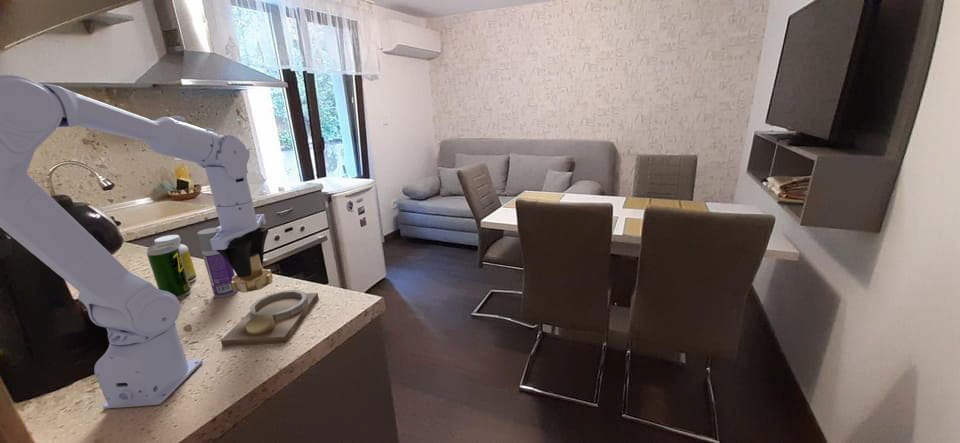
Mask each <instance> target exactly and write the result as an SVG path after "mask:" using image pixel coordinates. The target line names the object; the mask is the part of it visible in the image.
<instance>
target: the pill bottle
mask: <svg viewBox="0 0 960 443" xmlns="http://www.w3.org/2000/svg"><path fill="white" fill-rule="evenodd" d="M181 240H182V239H181V237H180V235H179V234H168V235H163V236H159V237H158V238H157V237H156V239H154V241H153V242H154V245H157V244H161V243H168V242H174V243H176V246H177V247H178V249H179V252H180V255H181V258H182V262H183V265H184V268H185V272H186V275H187V278H188V281H189V284H190V283H193V282H194V281H195V280H196V279H197V273H196V271H195V270H196V269H195V267H194V266H195V265H194V264H193V260H192V256H191V254H190V250H189V247H188V246H187V245H185V244H183V243H182V244H181Z"/></svg>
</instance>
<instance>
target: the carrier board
mask: <svg viewBox="0 0 960 443" xmlns="http://www.w3.org/2000/svg"><path fill="white" fill-rule="evenodd" d="M318 298H319V294H318V292H305V291H303V290H302V291H301V290H298V289H285V290H281V291H277V292H276V291H275V292H273V293H270V294H267V295H265V296H263V297H261V298H258V299H257V300H256V301H254V302H253V303H252V304H251V305H250V307H249V310H250V311H249V312H248V313H246V315H245V316H243V318H241V320H239V322H238V323H237V324H236V325H235V326H234V327H233V328H232V329H230V331H229V332H228V333H227V334H226V335H225V336H224V337H223V338H222V339H221V340H220V343H221V346H222V347H230V346H231V347H233V346H247V345H248V346H250V345H263V344H264V345H266V344H278V343H279V344H280V343H282V344H283V343H287V342H288V340H289V339H290V338H291V336H292V334H294V332H295V330H296V329H297V328H298V326H299V325H300V324H301V322H302V321H303V320H304V318H305V317H306V315H307V314H308V313H309V311H310V310H311V309H312V307H313V306H314V305H315V303H316V302H317V300H318Z"/></svg>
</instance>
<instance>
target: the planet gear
mask: <svg viewBox="0 0 960 443" xmlns="http://www.w3.org/2000/svg"><path fill="white" fill-rule="evenodd" d="M250 263H251V275H250V276H249V277H238V276H237V274H235V276H233V277H232V281H231V285H232V289H233V291H237V292H238V293H239V292H240V293H241V294H242V293H249V292H254V291H260V290H262V289H264V288H266V287H267V286H268V285H271V284H272V283H273V282H274V281H273V274H272V270H271V269H267V268H263V267H262V266H263V265H261V261H260V256H259V253H257V252H250Z"/></svg>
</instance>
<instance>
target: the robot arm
mask: <svg viewBox="0 0 960 443" xmlns="http://www.w3.org/2000/svg"><path fill="white" fill-rule="evenodd" d="M72 127H80V128H84V129H85V128H86V129H89V130H94V131H98V132H103V133H107V134H111V135H116V136H119V137H123V138H129V139H132V140H137V141H141V142H145V143H146V144H147V145H148V146H149V148H150V149H151V151H153V152H154V153H155V154H159V155H162V156H167V157H171V158H174V159H179V160H183V161H186V162H187V161H188V162H191V163H196V164H197V165H198V166H199V167H201V168H203V169H204V170H205V172H206V178H207V180H208V184H209V188H210V192H211V194H212V195H211V196H212V199H213V202H214V203H213V204H214V206H215V210H216V214H217V218H218V221H219V222H218V223H219V224H220V225H219V226H216V227H214V228H215V230H216V232H218V233H217V234H216V235H215V237H213V238H212V239H210V242H211V245H212V249H213V250H216V251H217V252H219V253H220V254H221V255H222V256H223V257H224V258H225V259H226V260H227V261H228V262H229V263H230V265H231V266H232V268H233V270H234V274H235V275H237V276H238V277H249V276H250V275H251V263H250V252H257V253H259V256H260V261H261V265H262V266H264V253H265V243H266V239H267V236H268V234H269V228H268V227H260V226H261V225H262V226H263V225H265V224H267V221H266V216H265V214H264V213H261V214H260V213H259V214H256V211H255V206H254V203H253V199H252V193H251V189H250V184H249V181H248V177H247V176H248V173H249V172H248V162H249V160H250V157H251V156H250V153H251V152H250V149H248V148H247V147H246V145H245V144H244V142H243V141H241V140H240V139H239V137H237V136H235V135H230V134H226V135H225V134H223V135H222V134H221V135H219V134H217V132H215V129H213V128H210V127H203V128H201V127H199V126H196V125H194V124H190V123H187V122H186V118H184V117H182V116H179V115H170V117H169V116H162V117H158V118H157V119H154V120H152V119H149V118H147V117H144V116H141V115H138V114H135V113H133V112H130V111H127V110H124V109H122V108H119V107H115V106H113V105H110V104H107V103H105V102H102V101H99V100H96V99H93V98H91V97H88V96H85V95H82V94H80V93H77V92H74V91H71V90H69V89H67V88H64V87H62V86H59V85H55V84H49V83H40V82H37V81H35V80H33V79H31V78H28V77H24V76H20V75H14V74H0V228H1V229H2V230H3V231H4V232H5V233H7V234H8V235H9V236H10V237H12V238H13V239H15V241H17V243H19V244H20V245H22V247H24V248H25V249H26V250H27V251H29V253H31V254H32V255H34V256H35V257H36V258H37V259H39V261H41V262H42V263H43V264H45V265H46V266H47V267H48V268H50V270H52V271H53V272H55V273H56V274H57V275H58V276H60V277H61V278H62V279H63V280H65V282H66V283H68V284H69V285H70V286H72V287H73V288H74V289H75V290H77V292H79V293H78V296H77V299H78V301H80V302H81V303H82V304H83V305H84V306H85V307H86V310H87V313H88V317H89V319H90V320H91V322H92V323H93V324H95V325H96V326H97V327H98V326H99V327H102V328H105V329H106V330H107V339H108V342H109V344H108V348H107V349H106V351H105V353H104V354H103V355H102V356H101V357H100V358H99V359H98V360H97V361H96V362H95V364H94V368H93V369H94V371H93V372H94V375H95V377H96V380H97V382H98V384H99V387H100V390H101V391H102V394H103V396H104V399H105V402H103V404H102V408H103V409H115V408H117V409H118V408H129V407H130V408H131V407H132V408H133V407H144V406H147V407H149V406H158V405H161V404H162V403H163V402H165V400H166V399H167V398H168V397H169V396H170V395H171V394H172V393H174V391H175V390H176V389H177V388H179V386H180V385H182V383H183V382H185V380H186V379H187V378H189V377H190V376H191V375H192V373H193V372H194V371H195V370H196V369H197V368H198V367H199V366H200V365H201V364H202V363H203V362H204V360H203V359H202V358H193V359H187V357H186V354H185V351H184V347H183V344H182V342H181V338H180V335H179V332H178V329H177V326H176V325H177V324H176V321H177V319H178V318H179V314H180V311H181V304H180V301H179V299H177V297H176V296H175V295H173V294H172V293H170V292H167V291H162V290H159V289H158V287H156V286H155V285H154V284H153V283H152V282H150V281H149V280H147V279H145V278H143V277H141V276H139V275H137V274H136V273H134V272H132V271H130V270H129V269H127V268H126V267H125V266H124V265H123V263H121V262H120V261H119V260H118V259H117V258H116V257H115V256H114V255H113V254H112V253H110V252H109V250H108V249H106V248H105V247H104V246H103V245H102V244H101V242H99V241H98V240H97V239H96V238H95V237H94V236H93V235H92V234H91V233H90V232H88V230H87V229H86V228H84V226H82V225H81V224H80V223H79V222H78V221H77V220H76V219H75V218H74V217H73V216H72V215H71V214H69V212H68V211H67V210H66V209H64V208H63V207H62V206H61V205H60V204H59V203H58V202H57V201H56V200H55V199H54V198H53V197H52V196H51V195H50V194H49V193H48V192H47V191H46V190H44V188H42V186H41V185H39V184H38V183H37V181H35V180H34V179H33V178H32V177H31V176H30V175H29V174H28V170H29V167H30V164H31V162H32V160H33V156H34V154H35V151H36V150H37V149H38V148H39V147H40V146H41V145H42V144H43V143H44V142H45V141H46V140H47V139H48V138H50V136H51V135H52V134H53V133H54V132H55V131H56V130H57V128H72Z"/></svg>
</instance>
